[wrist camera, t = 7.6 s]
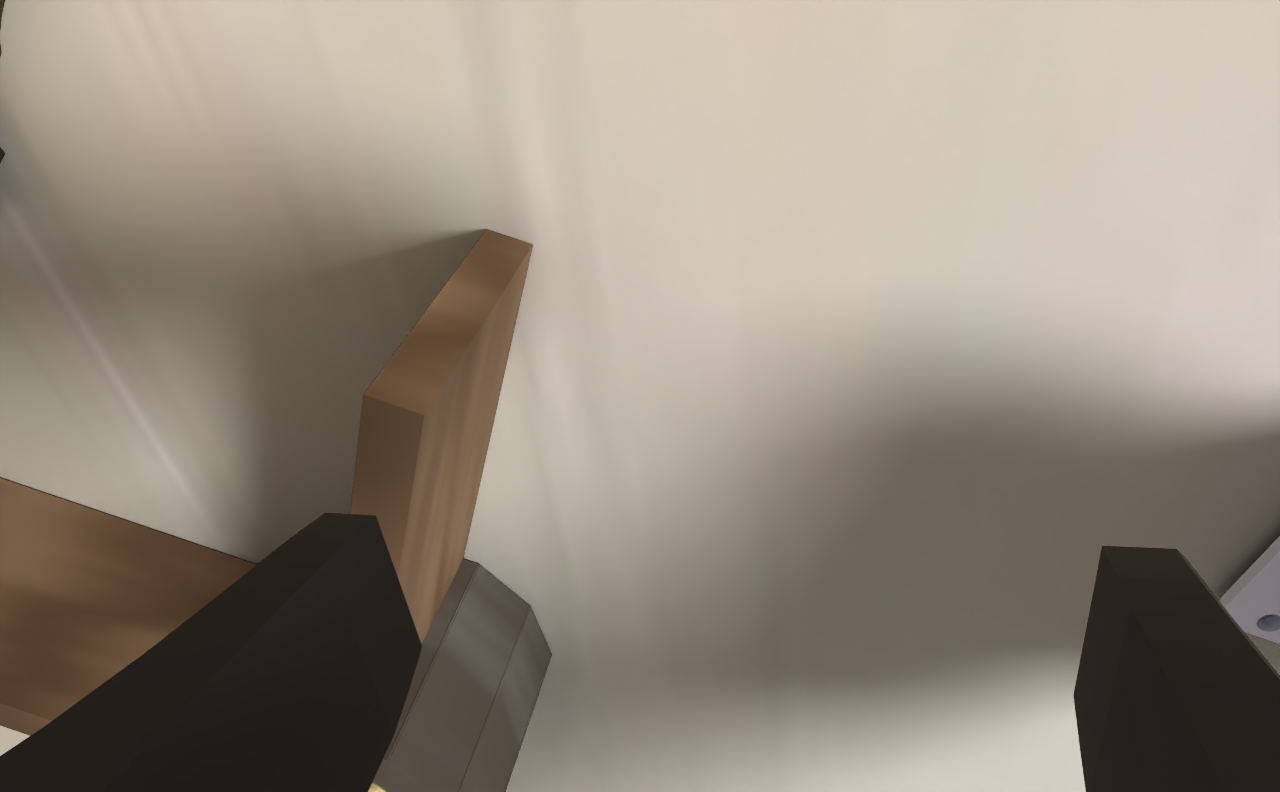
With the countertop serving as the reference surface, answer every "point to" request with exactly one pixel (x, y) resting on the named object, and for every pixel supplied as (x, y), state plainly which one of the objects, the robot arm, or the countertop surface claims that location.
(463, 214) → the countertop surface
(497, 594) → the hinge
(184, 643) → the robot arm
